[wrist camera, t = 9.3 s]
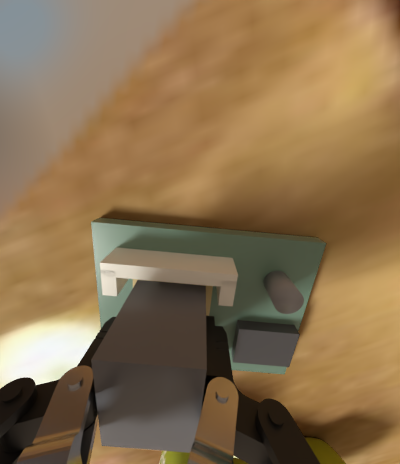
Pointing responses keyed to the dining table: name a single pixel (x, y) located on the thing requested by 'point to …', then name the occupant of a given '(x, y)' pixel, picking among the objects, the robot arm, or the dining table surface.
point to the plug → (153, 368)
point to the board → (216, 280)
